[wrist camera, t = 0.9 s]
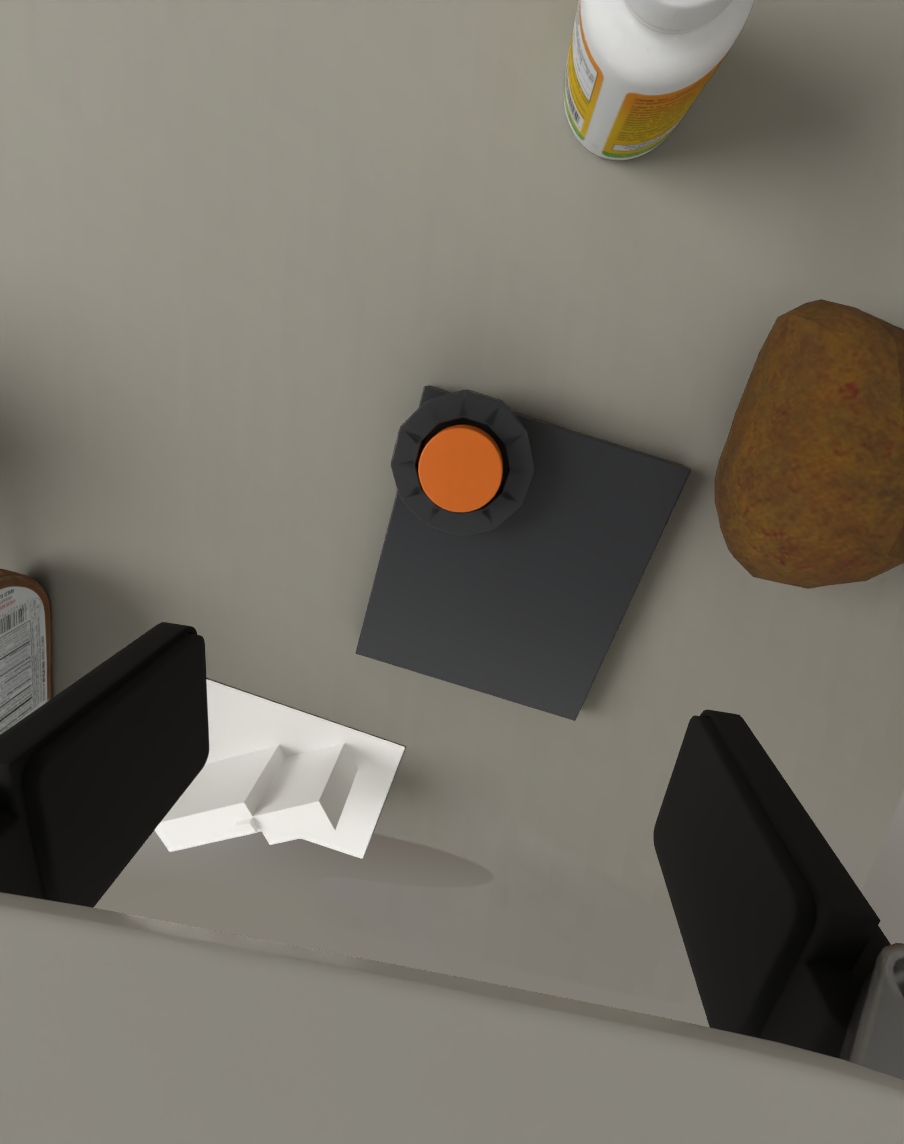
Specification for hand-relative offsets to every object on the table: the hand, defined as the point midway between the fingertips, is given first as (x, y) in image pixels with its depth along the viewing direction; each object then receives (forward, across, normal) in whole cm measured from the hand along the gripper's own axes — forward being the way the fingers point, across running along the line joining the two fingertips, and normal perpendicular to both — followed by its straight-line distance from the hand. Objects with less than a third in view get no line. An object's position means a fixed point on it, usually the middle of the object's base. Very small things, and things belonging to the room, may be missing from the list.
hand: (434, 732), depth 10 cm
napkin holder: (+21, +11, +22) cm, 32 cm away
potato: (+21, -15, -5) cm, 26 cm away
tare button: (+18, +1, -2) cm, 18 cm away
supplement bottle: (+21, -4, -19) cm, 28 cm away
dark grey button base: (+21, -2, +4) cm, 21 cm away
